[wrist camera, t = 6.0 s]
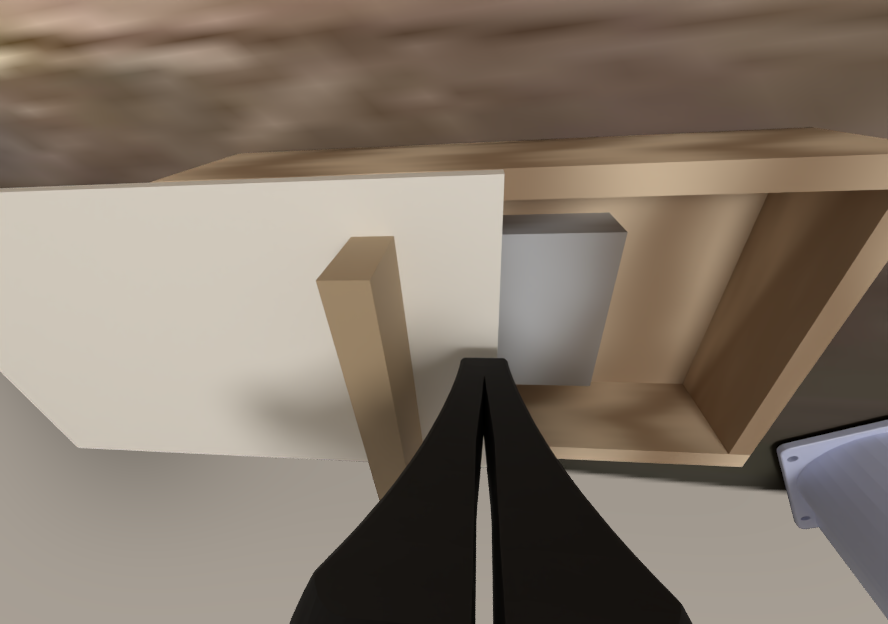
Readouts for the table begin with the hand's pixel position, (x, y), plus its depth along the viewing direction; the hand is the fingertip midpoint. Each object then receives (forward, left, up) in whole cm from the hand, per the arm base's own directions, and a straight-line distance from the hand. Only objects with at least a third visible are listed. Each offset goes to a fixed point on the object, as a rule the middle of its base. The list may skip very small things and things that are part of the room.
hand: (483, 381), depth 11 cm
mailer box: (0, -1, -6) cm, 6 cm away
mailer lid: (+5, +8, -1) cm, 10 cm away
